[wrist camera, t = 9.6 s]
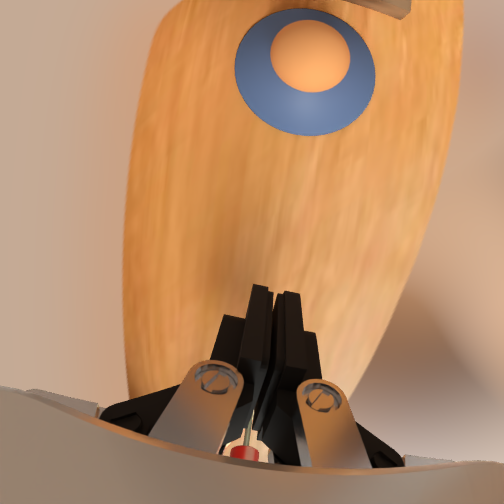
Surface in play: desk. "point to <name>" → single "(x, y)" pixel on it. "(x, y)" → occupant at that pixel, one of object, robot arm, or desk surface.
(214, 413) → the robot arm
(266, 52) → the mark
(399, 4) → the stopper strip
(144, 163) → the desk surface
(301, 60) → the ball
